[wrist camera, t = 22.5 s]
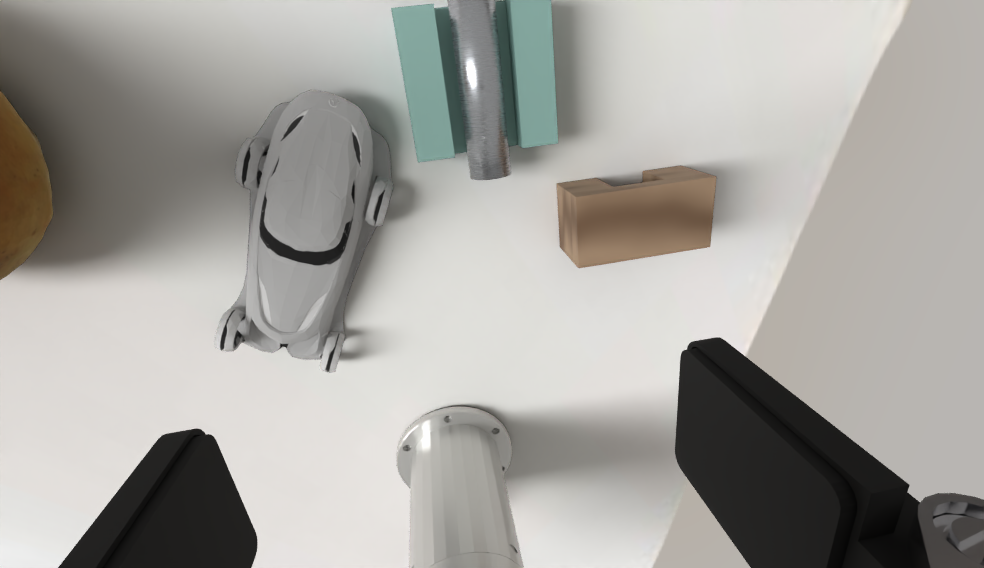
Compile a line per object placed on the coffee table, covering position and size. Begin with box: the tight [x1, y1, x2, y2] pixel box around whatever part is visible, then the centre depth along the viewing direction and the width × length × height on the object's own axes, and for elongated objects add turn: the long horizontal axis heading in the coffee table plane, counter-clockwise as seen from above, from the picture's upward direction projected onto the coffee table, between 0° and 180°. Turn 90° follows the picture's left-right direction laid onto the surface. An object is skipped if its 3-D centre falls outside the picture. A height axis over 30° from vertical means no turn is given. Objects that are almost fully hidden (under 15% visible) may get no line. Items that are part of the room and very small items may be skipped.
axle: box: [447, 0, 511, 180], centre depth 33 cm, size 14×3×3 cm, turn 6°
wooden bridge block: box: [557, 166, 716, 268], centre depth 40 cm, size 6×12×6 cm, turn 96°
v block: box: [391, 0, 558, 162], centre depth 34 cm, size 10×11×4 cm
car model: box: [214, 90, 394, 373], centre depth 37 cm, size 11×24×5 cm, turn 160°
